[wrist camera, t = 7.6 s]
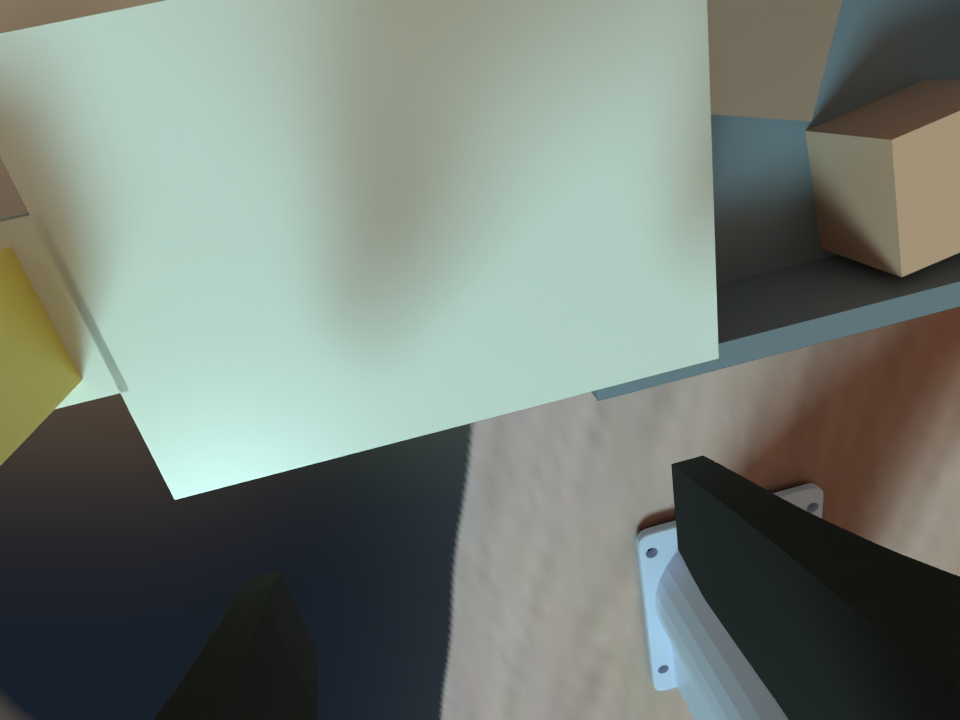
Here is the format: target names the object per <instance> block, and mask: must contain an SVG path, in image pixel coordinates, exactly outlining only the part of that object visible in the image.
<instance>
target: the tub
mask: <svg viewBox="0 0 960 720" xmlns="http://www.w3.org/2000/svg"><path fill="white" fill-rule="evenodd" d="M940 79H960V0H842V4H841V8H840V11H839V15H838V19H837V23H836V27H835V31H834V35H833V39H832V43H831V47H830V51H829V54H828V58H827V62H826V66H825V70H824V74H823V78H822V82H821V86H820V90H819V93H818V97H817V101H816V105H815V109H814V113H813V117H812V121H798V120H784V119H769V118H755V117H740V116H726V115H711V137H712V167H713V198H714V229H715V259H716V290H717V321H718V352H719V358H718V359H715V360H711V361H707V362H703V363H699V364H695V365H692V366H688V367H684V368H680V369H676V370H672V371H668V372H665V373H661V374H657V375H653V376H649V377H645V378H642V379H638V380H634V381H630V382H626V383H622V384H618V385H615V386H611V387H607V388H603V389H599V390H595V391H591V392H592V393H593V395H594V396H595V397H596V399H597V400H598V401H600V400H604V399H608V398H611V397H615V396H619V395H623V394H627V393H631V392H634V391H638V390H642V389H646V388H650V387H654V386H657V385H661V384H665V383H669V382H673V381H677V380H680V379H684V378H688V377H692V376H696V375H700V374H703V373H707V372H711V371H715V370H719V369H722V368H726V367H730V366H734V365H738V364H742V363H745V362H749V361H753V360H757V359H761V358H765V357H768V356H772V355H776V354H780V353H784V352H788V351H791V350H795V349H799V348H803V347H807V346H811V345H814V344H818V343H822V342H826V341H830V340H833V339H837V338H841V337H845V336H849V335H853V334H856V333H860V332H864V331H868V330H872V329H876V328H879V327H883V326H887V325H891V324H895V323H899V322H902V321H906V320H910V319H914V318H918V317H922V316H925V315H929V314H933V313H937V312H941V311H944V310H948V309H952V308H956V307H960V253H957V254H955V255H953V256H950V257H948V258H946V259H943V260H941V261H939V262H936V263H934V264H932V265H929V266H927V267H925V268H922V269H920V270H918V271H915V272H913V273H911V274H908V275H906V276H904V277H900V276H897V275H894V274H891V273H888V272H886V271H883V270H880V269H877V268H874V267H872V266H869V265H866V264H863V263H860V262H858V261H855V260H852V259H849V258H846V257H844V256H841V255H838V254H835V253H832V252H830V251H827V250H824V249H821V245H820V238H819V230H818V223H817V215H816V208H815V200H814V193H813V185H812V178H811V170H810V163H809V155H808V148H807V140H806V133H805V131H806V130H809V129H811V128H813V127H816V126H818V125H820V124H823V123H825V122H827V121H830V120H832V119H834V118H837V117H839V116H841V115H844V114H846V113H848V112H851V111H853V110H855V109H858V108H860V107H862V106H864V105H867V104H869V103H871V102H874V101H876V100H878V99H881V98H883V97H885V96H888V95H890V94H892V93H895V92H897V91H899V90H902V89H904V88H906V87H909V86H911V85H913V84H916V83H918V82H920V81H923V80H940Z"/></svg>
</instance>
